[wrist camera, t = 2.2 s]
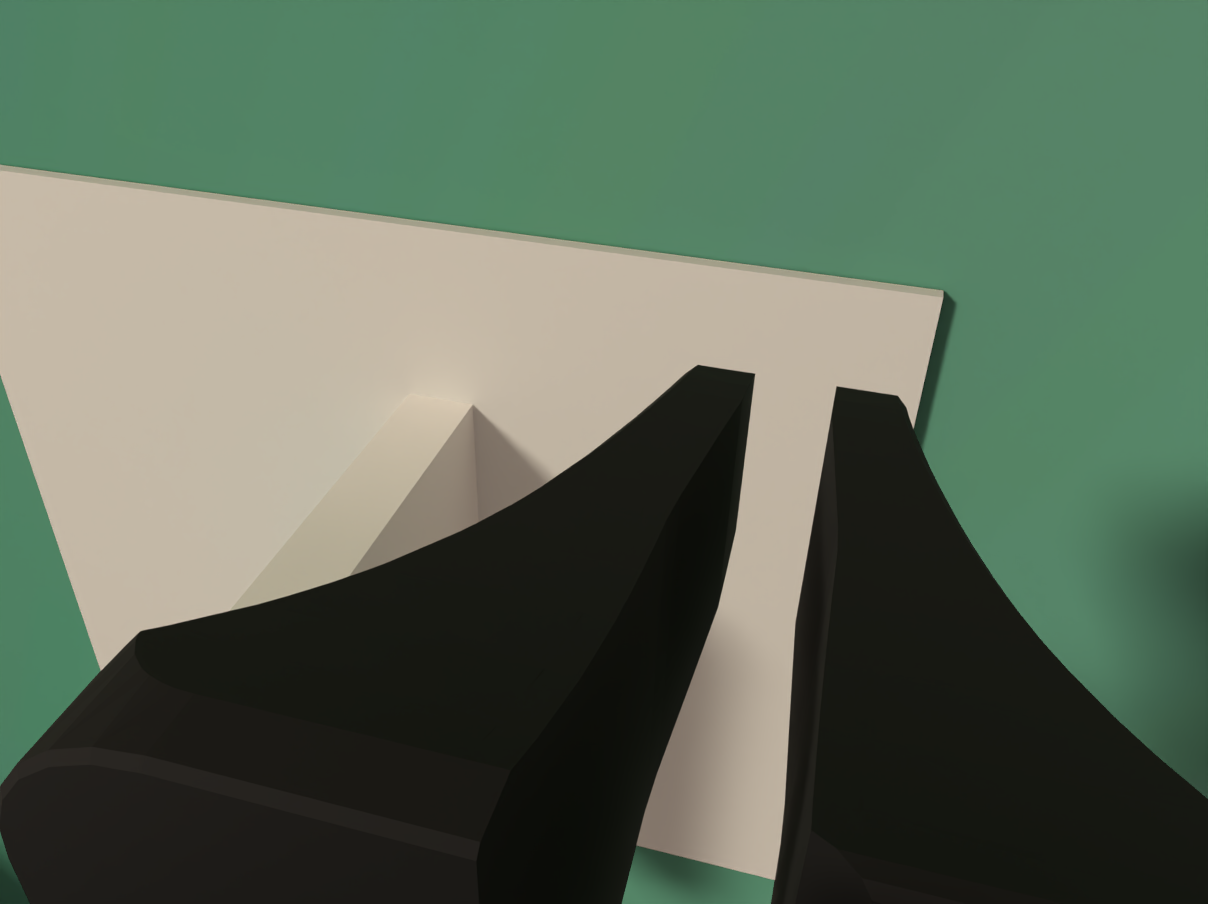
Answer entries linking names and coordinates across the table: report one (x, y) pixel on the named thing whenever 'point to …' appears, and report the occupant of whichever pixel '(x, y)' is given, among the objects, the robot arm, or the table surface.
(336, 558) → the tile
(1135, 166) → the table surface
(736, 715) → the mat
